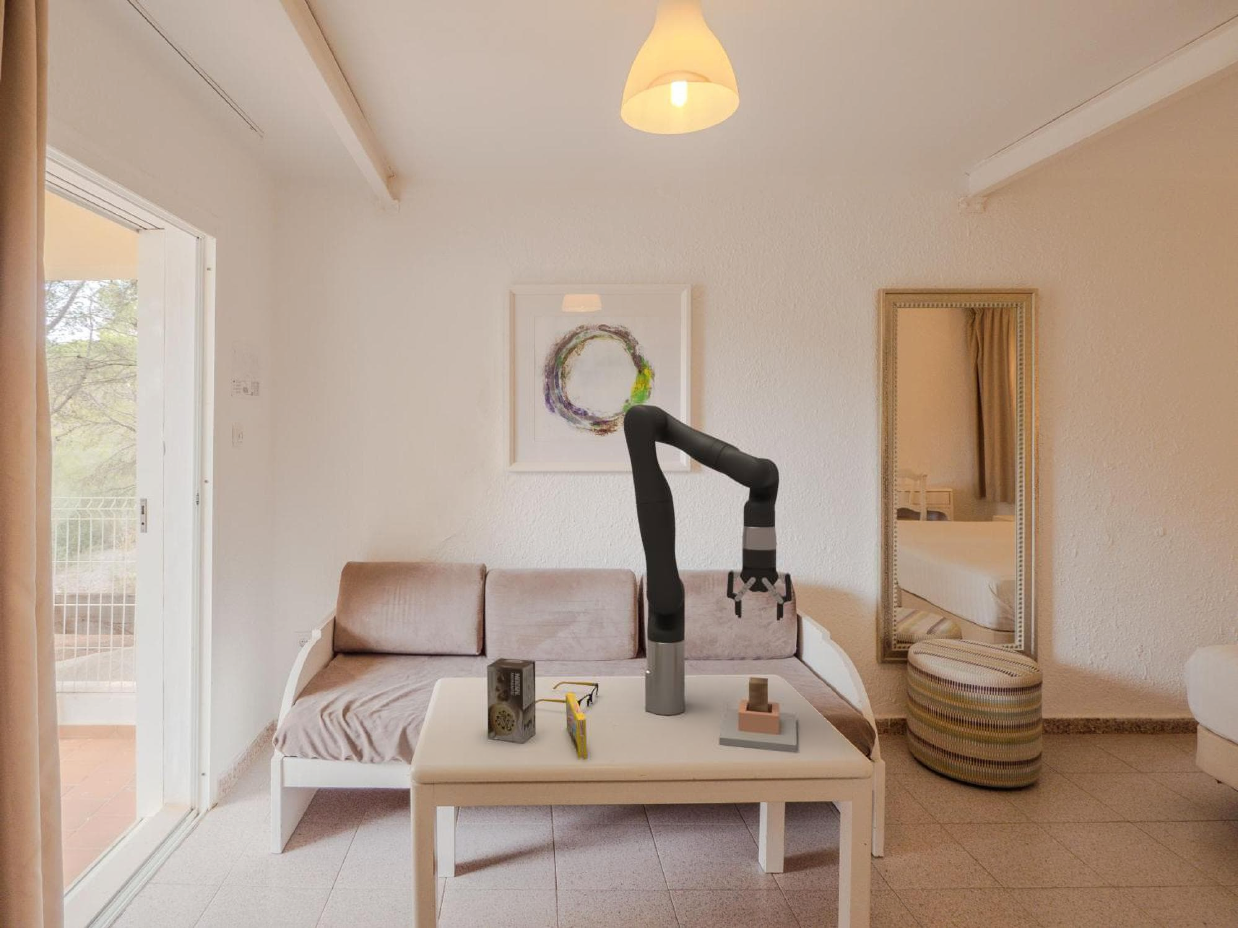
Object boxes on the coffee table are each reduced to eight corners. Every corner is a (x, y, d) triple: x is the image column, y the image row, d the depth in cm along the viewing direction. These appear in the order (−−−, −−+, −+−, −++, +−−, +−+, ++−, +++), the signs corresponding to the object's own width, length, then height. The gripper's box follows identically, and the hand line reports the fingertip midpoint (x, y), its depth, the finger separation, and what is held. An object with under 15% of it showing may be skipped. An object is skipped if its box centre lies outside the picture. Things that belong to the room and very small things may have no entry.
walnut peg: (749, 727, 145) (748, 682, 145) (750, 720, 149) (749, 676, 149) (767, 729, 144) (767, 683, 144) (768, 722, 148) (767, 678, 148)
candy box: (565, 729, 148) (565, 692, 149) (574, 728, 149) (574, 692, 149) (577, 759, 133) (577, 718, 133) (587, 758, 133) (587, 717, 133)
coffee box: (536, 732, 146) (536, 660, 146) (523, 744, 140) (523, 668, 140) (500, 727, 149) (500, 656, 149) (486, 738, 143) (486, 664, 143)
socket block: (719, 744, 140) (719, 718, 140) (727, 714, 157) (727, 691, 157) (796, 752, 136) (796, 725, 136) (796, 720, 153) (795, 697, 153)
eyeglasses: (581, 717, 157) (581, 700, 157) (527, 710, 161) (527, 694, 161) (601, 697, 170) (601, 682, 170) (550, 692, 175) (550, 677, 175)
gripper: (725, 547, 145) (725, 620, 145) (791, 549, 142) (791, 624, 141) (728, 543, 153) (728, 613, 152) (791, 545, 149) (791, 617, 149)
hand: (759, 618), depth 147 cm, fingers open, 8 cm apart
